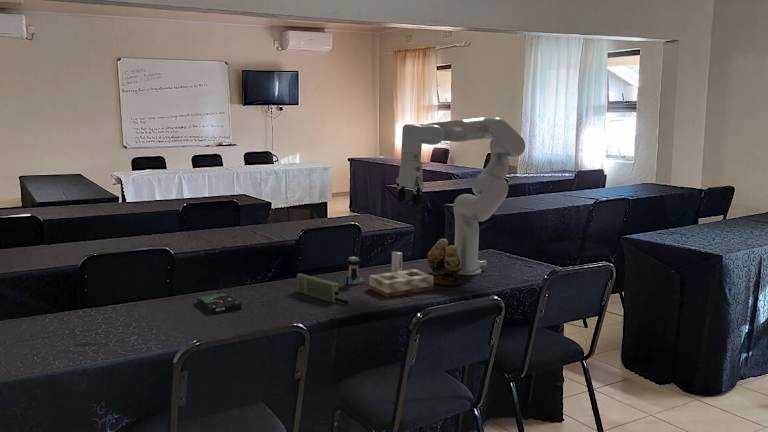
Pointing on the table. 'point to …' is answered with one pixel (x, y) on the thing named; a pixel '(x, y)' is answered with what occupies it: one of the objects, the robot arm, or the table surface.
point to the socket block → (401, 282)
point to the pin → (396, 261)
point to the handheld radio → (318, 288)
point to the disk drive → (219, 303)
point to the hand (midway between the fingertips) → (408, 202)
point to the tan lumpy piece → (444, 264)
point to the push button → (353, 271)
